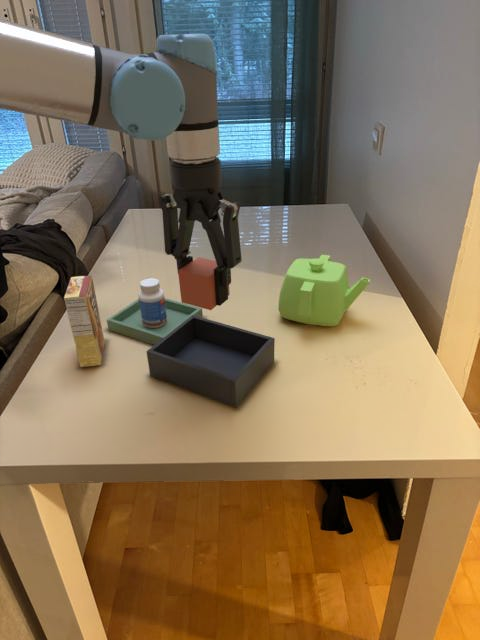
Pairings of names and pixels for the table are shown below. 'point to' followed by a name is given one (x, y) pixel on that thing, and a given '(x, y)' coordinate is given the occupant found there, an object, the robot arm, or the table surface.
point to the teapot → (317, 291)
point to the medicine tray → (132, 326)
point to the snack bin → (212, 359)
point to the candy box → (85, 320)
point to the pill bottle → (152, 303)
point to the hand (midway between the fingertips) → (205, 297)
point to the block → (198, 283)
